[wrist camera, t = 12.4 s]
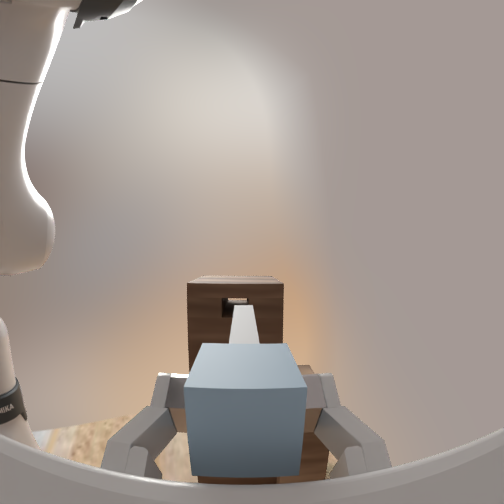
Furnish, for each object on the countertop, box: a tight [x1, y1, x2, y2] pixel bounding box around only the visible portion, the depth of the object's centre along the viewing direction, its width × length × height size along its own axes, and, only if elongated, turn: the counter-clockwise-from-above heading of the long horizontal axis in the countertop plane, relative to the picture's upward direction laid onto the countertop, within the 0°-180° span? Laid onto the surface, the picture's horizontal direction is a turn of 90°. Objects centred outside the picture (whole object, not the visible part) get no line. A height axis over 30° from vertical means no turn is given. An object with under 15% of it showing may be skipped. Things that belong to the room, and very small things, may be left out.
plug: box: [184, 305, 307, 478], centre depth 18 cm, size 20×4×4 cm, turn 1°
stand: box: [187, 276, 329, 485], centre depth 38 cm, size 17×16×28 cm
